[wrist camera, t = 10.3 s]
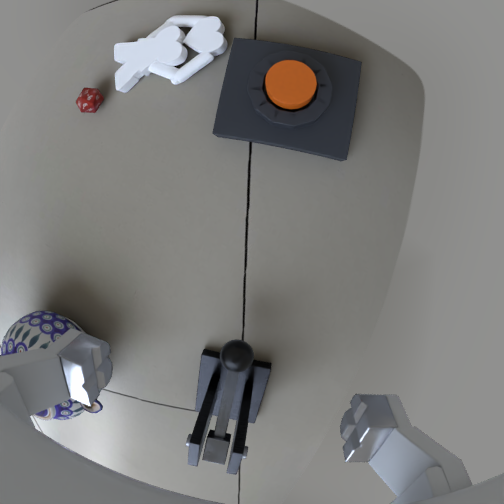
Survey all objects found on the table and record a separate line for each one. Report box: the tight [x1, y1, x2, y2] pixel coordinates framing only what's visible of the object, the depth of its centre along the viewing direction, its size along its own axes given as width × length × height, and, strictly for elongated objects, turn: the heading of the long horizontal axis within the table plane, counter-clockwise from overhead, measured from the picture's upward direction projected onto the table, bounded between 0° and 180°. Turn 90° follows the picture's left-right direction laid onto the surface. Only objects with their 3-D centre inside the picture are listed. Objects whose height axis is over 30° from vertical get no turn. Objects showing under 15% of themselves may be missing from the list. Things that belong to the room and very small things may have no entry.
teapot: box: [0, 311, 103, 420], centre depth 28 cm, size 25×15×15 cm, turn 94°
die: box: [76, 88, 104, 113], centre depth 24 cm, size 3×3×3 cm
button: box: [265, 60, 317, 109], centre depth 20 cm, size 4×4×2 cm
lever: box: [202, 340, 254, 465], centre depth 25 cm, size 13×3×3 cm, turn 169°
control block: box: [213, 38, 362, 161], centre depth 23 cm, size 12×10×4 cm
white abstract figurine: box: [114, 15, 227, 93], centre depth 23 cm, size 9×12×2 cm
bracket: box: [186, 349, 271, 475], centre depth 28 cm, size 10×8×12 cm
